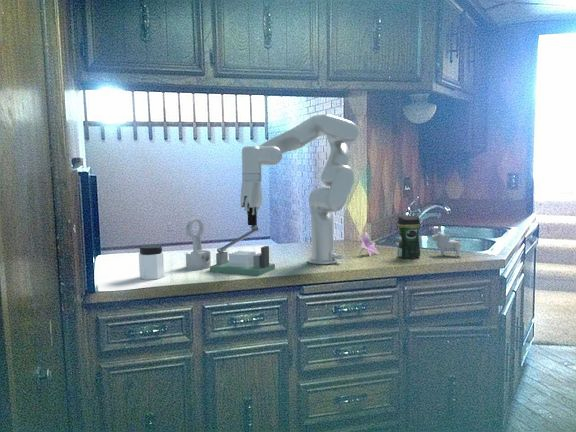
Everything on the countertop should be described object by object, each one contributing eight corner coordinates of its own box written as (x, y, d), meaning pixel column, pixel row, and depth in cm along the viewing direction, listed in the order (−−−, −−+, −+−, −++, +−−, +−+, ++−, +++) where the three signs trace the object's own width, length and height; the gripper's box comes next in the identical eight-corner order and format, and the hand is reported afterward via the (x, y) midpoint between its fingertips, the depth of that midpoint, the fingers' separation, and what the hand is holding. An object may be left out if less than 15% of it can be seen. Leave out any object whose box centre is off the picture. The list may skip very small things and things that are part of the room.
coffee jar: (416, 255, 242) (416, 214, 240) (422, 258, 234) (422, 216, 232) (395, 256, 241) (395, 214, 239) (400, 259, 233) (401, 216, 231)
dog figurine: (432, 253, 246) (432, 230, 244) (461, 255, 241) (461, 231, 240) (430, 255, 241) (431, 232, 240) (460, 257, 236) (461, 233, 235)
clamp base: (274, 268, 217) (274, 244, 216) (259, 275, 204) (258, 249, 203) (227, 264, 226) (227, 241, 225) (209, 271, 213) (209, 246, 212)
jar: (167, 277, 203) (166, 246, 202) (147, 281, 198) (146, 249, 197) (156, 274, 210) (155, 243, 209) (136, 277, 205) (135, 246, 203)
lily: (356, 259, 239) (366, 241, 236) (346, 245, 249) (355, 228, 246) (377, 265, 245) (387, 247, 242) (366, 251, 255) (375, 234, 252)
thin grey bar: (260, 230, 213) (257, 224, 213) (255, 232, 209) (251, 225, 209) (223, 251, 220) (220, 245, 221) (218, 253, 216) (215, 246, 217)
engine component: (215, 266, 223) (199, 264, 229) (214, 217, 220) (198, 216, 227) (195, 271, 214) (179, 268, 221) (194, 220, 212) (177, 218, 218)
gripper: (252, 177, 217) (252, 222, 219) (233, 178, 204) (234, 226, 206) (268, 177, 214) (269, 223, 216) (251, 178, 201) (251, 227, 203)
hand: (252, 224), depth 211 cm, fingers closed
